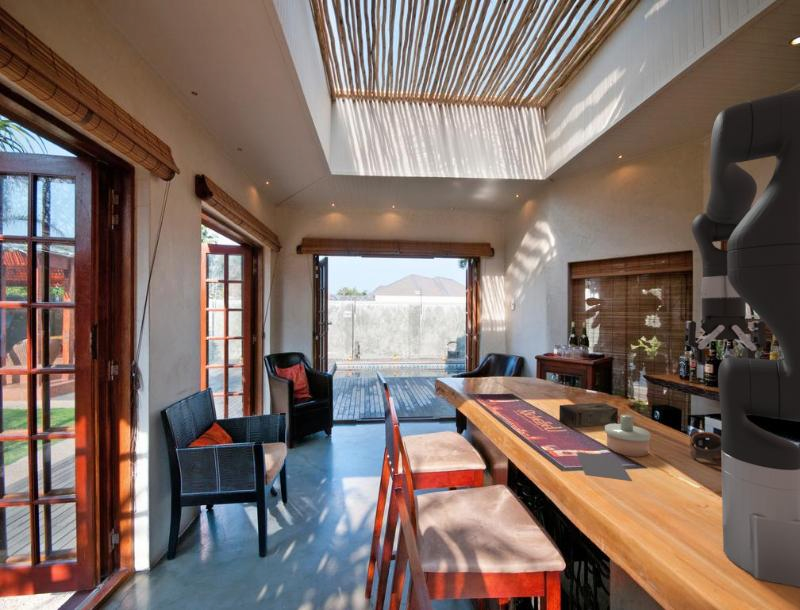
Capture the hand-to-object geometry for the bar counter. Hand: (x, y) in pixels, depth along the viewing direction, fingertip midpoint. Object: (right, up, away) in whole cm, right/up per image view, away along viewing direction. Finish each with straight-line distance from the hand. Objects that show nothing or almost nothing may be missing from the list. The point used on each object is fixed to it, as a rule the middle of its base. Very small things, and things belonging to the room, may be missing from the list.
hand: (724, 365), depth 80 cm
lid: (-10, -23, +19) cm, 32 cm away
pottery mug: (+10, -29, +15) cm, 34 cm away
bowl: (-10, -28, +19) cm, 36 cm away
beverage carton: (-7, -29, +45) cm, 54 cm away
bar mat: (-23, -28, +10) cm, 38 cm away
